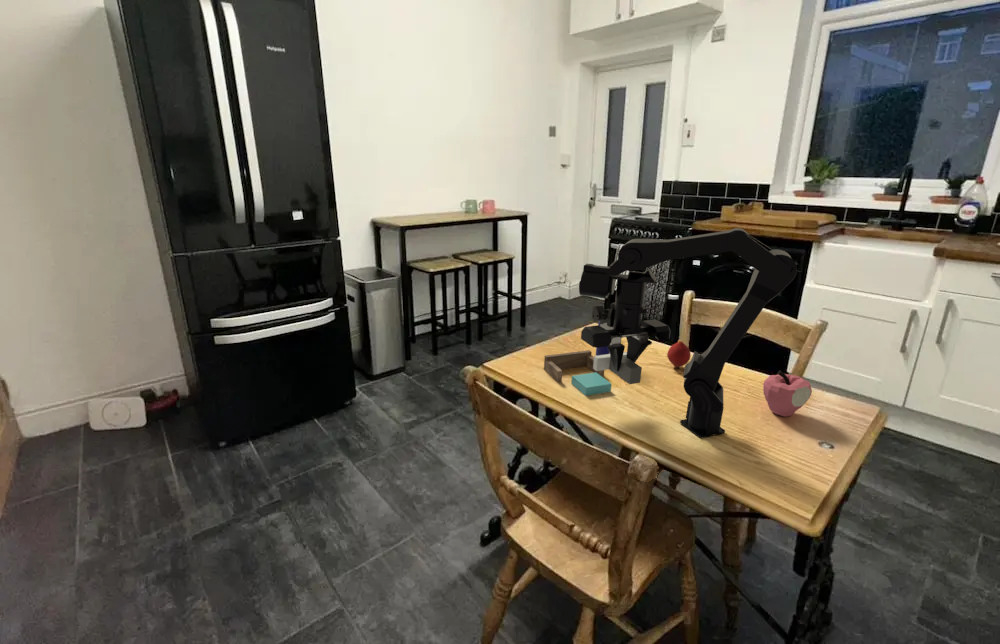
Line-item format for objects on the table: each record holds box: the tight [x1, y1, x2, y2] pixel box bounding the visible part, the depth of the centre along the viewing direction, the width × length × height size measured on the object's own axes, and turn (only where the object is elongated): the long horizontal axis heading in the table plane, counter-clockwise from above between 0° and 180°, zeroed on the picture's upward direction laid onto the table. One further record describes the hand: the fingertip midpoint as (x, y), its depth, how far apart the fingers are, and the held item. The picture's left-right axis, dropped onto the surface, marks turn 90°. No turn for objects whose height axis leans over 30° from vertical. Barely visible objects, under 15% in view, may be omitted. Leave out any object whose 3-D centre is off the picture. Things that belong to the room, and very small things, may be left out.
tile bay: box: [543, 349, 605, 383], centre depth 125 cm, size 8×13×4 cm, turn 109°
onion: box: [666, 339, 692, 369], centre depth 129 cm, size 6×6×8 cm
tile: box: [570, 372, 612, 397], centre depth 118 cm, size 7×7×2 cm
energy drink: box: [594, 321, 613, 356], centre depth 133 cm, size 5×5×12 cm
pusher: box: [593, 351, 643, 385], centre depth 104 cm, size 10×9×4 cm
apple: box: [762, 370, 813, 417], centre depth 106 cm, size 10×9×10 cm
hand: (622, 369), depth 104 cm, fingers closed on pusher, 3 cm apart
